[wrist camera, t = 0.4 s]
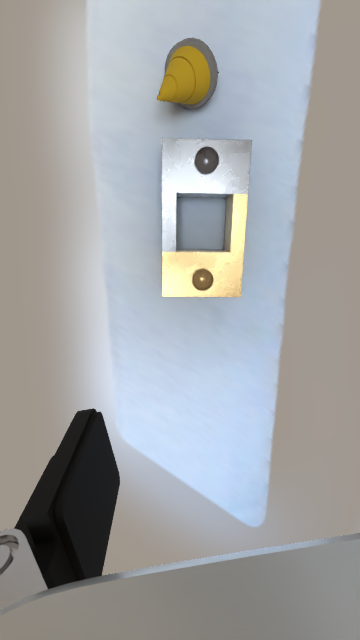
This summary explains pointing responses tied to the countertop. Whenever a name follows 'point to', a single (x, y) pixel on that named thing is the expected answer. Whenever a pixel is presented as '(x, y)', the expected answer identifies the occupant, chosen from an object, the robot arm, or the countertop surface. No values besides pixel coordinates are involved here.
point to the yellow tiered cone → (189, 74)
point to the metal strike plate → (215, 182)
